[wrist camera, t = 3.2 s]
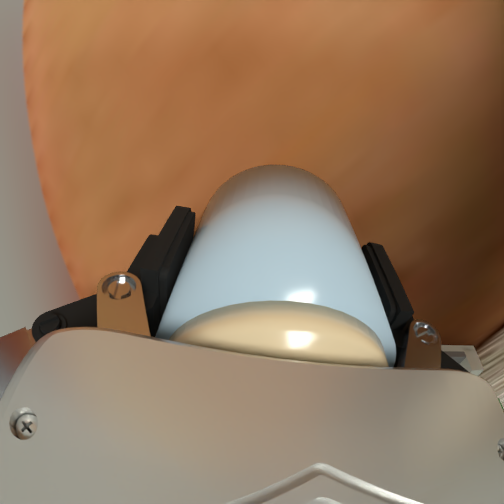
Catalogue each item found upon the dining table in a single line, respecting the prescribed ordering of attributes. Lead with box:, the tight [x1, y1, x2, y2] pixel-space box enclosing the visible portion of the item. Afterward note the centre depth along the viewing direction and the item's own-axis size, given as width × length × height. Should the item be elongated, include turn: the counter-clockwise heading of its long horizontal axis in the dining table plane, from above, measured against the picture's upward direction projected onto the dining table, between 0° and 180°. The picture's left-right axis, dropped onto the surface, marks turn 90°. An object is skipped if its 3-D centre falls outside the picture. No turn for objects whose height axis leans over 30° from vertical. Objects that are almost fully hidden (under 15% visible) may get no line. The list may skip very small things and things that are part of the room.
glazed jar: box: [155, 165, 396, 367], centre depth 10 cm, size 6×6×8 cm
